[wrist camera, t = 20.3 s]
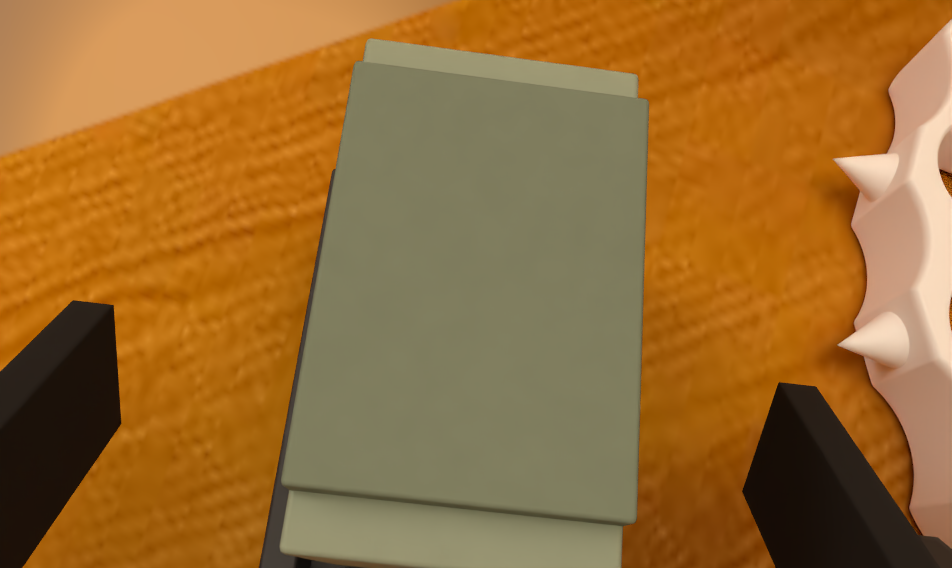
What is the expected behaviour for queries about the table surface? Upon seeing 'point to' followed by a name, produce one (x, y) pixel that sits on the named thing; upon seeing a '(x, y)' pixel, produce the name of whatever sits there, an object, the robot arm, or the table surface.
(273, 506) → the socket
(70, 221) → the table surface
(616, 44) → the table surface
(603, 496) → the grey-green lidded box
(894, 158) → the knuckle duster
